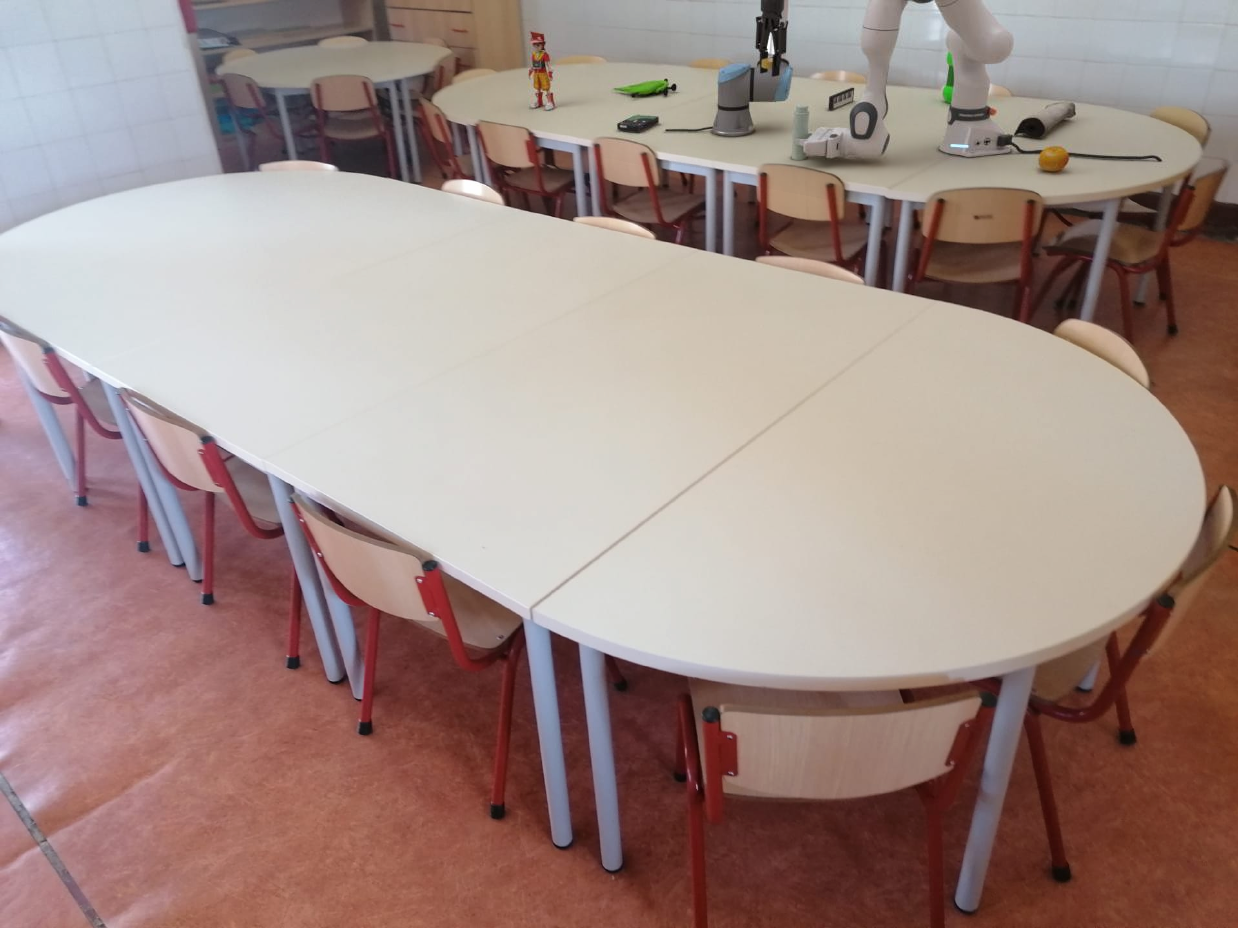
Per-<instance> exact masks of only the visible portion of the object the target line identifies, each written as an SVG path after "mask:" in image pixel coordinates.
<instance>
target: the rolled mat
mask: <svg viewBox="0 0 1238 928" xmlns="http://www.w3.org/2000/svg"><path fill="white" fill-rule="evenodd" d="M1076 115H1077V112H1076V105H1075V103H1074V102H1070V101H1069V102H1068V101H1059V102H1056V103H1055V102H1054V103H1049V104H1047V105H1045V107H1044V108H1043V109H1041V110H1039V111H1037V112H1035V113H1033V114H1031V115H1029V116H1027V117H1026V118H1023V119H1022V120H1021V121H1020V122H1019V124H1018V126H1017V128H1016V129H1015V131H1014V133H1013V137H1016V136H1018V135H1025V136H1027V137H1028V138H1033V139H1037V140H1038V139H1041V138H1042V137H1044V136H1045V135H1046V134H1047V133H1048V132H1049V131H1051V129H1052V128H1053V127H1055V125H1057V124H1059V122H1061V121H1062V120H1066V119H1072V118H1073V117H1075V116H1076Z"/></svg>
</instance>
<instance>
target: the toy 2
mask: <svg viewBox="0 0 1238 928" xmlns="http://www.w3.org/2000/svg"><path fill="white" fill-rule="evenodd" d="M669 85H670V83H669V79H668V78H664V79H663V80H649V81H644V82H640V83H634V84H629V85H627V86H621V87H613V88H612V89H613V90H616V91H619V92H623V93H627V94H628V93H629V94H631V95H630V96H631V98H632V99H634V98H636V96H637V95H650V94H652V93H654V94H658V93H662V95H663V96H665V97H667V96H668V95H669V90H671V91H672V92H676V91H677V84H676V83H672V84H671V86H669Z"/></svg>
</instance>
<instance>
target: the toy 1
mask: <svg viewBox="0 0 1238 928" xmlns="http://www.w3.org/2000/svg"><path fill="white" fill-rule="evenodd" d="M529 33H530V35H531V36H528V37H527V38H528V39H529V40H528V41H527V43H529V44H530V43H531V44H532V48H533V50H534V51H533V52H532V55H531V58H530V59H531V63H530V66H528V74H527V75H528V76H527V77H528V79H529V80H531V75H532V74H533V84H532V85H533V86H532V87H533V88H534V89H535V90H536V92H534V95H535V97H536V100H535V101H533V102H531V105H530V108H531V109H535V108H538V107H542V106H544V101H543V100H544V99H543V95H544V92H546V94H545V97H546V99H547V103H546V104H545V106H544V110H546V111H549V110H553V109H554V107H555V106H556V105H555V99H554V92H551V91H550V90H551V86H552V84H551V82H552V81H553V80H554V77H553V73H554V71H555V70H554V69H552V68H551V63H550V61H551V59H550V58H551V57H550V54H549V53H548V52H547V50H546V48H545V46H546V44H547V41H545V35H544V33H543V32H542V33H539V32H535V31H529Z"/></svg>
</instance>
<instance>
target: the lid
mask: <svg viewBox="0 0 1238 928" xmlns="http://www.w3.org/2000/svg"><path fill="white" fill-rule="evenodd" d="M772 59H773V58H765V59H762V66H761V67H762V68H766V69H771V68H772Z"/></svg>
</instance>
